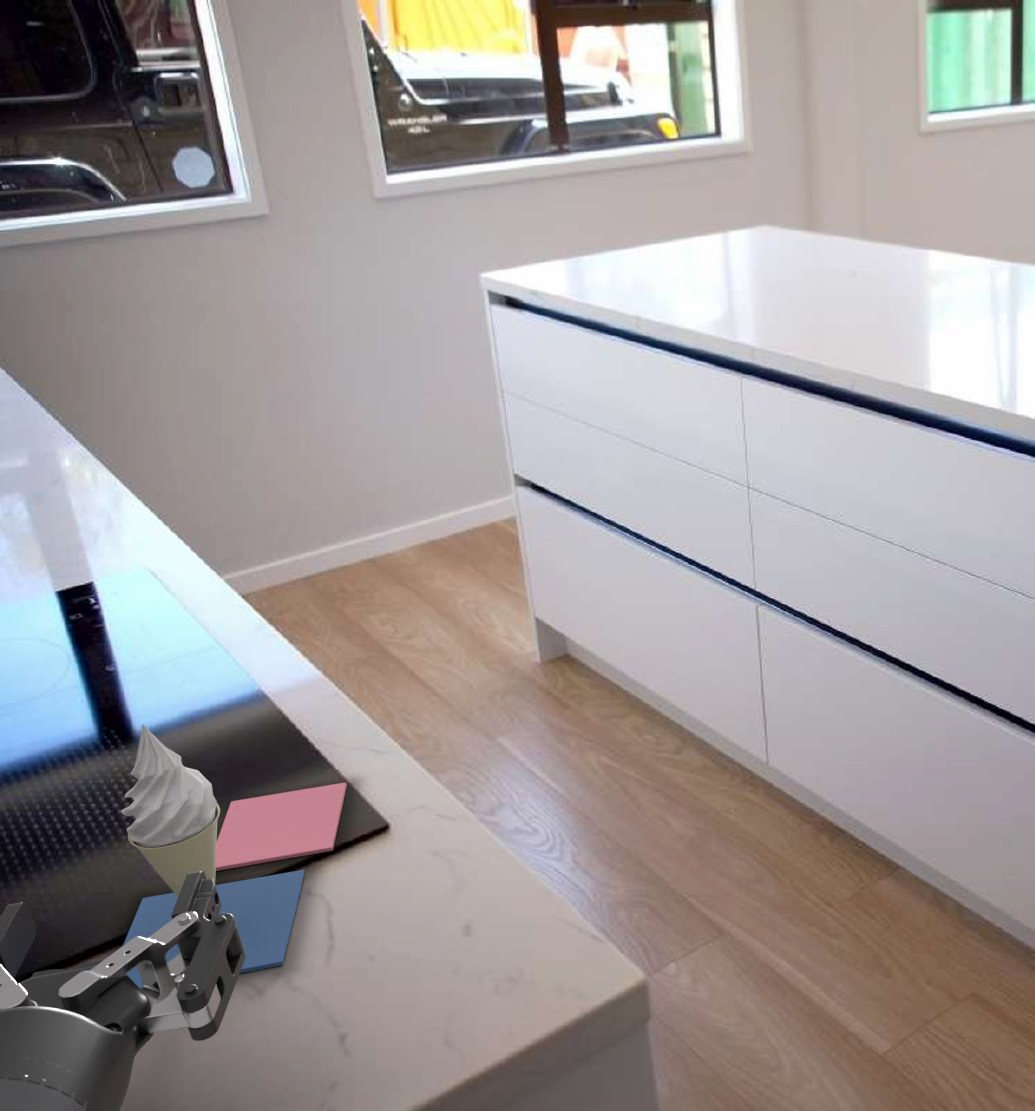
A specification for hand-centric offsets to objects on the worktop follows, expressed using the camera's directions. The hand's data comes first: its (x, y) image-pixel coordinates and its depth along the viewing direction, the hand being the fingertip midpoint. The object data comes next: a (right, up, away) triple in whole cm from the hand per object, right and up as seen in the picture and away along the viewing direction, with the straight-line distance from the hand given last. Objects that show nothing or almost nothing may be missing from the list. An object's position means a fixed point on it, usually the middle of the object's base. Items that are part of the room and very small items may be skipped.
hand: (113, 900), depth 65 cm
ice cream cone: (-2, -6, +14) cm, 15 cm away
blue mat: (-2, -6, +14) cm, 15 cm away
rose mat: (-2, -1, +24) cm, 24 cm away
